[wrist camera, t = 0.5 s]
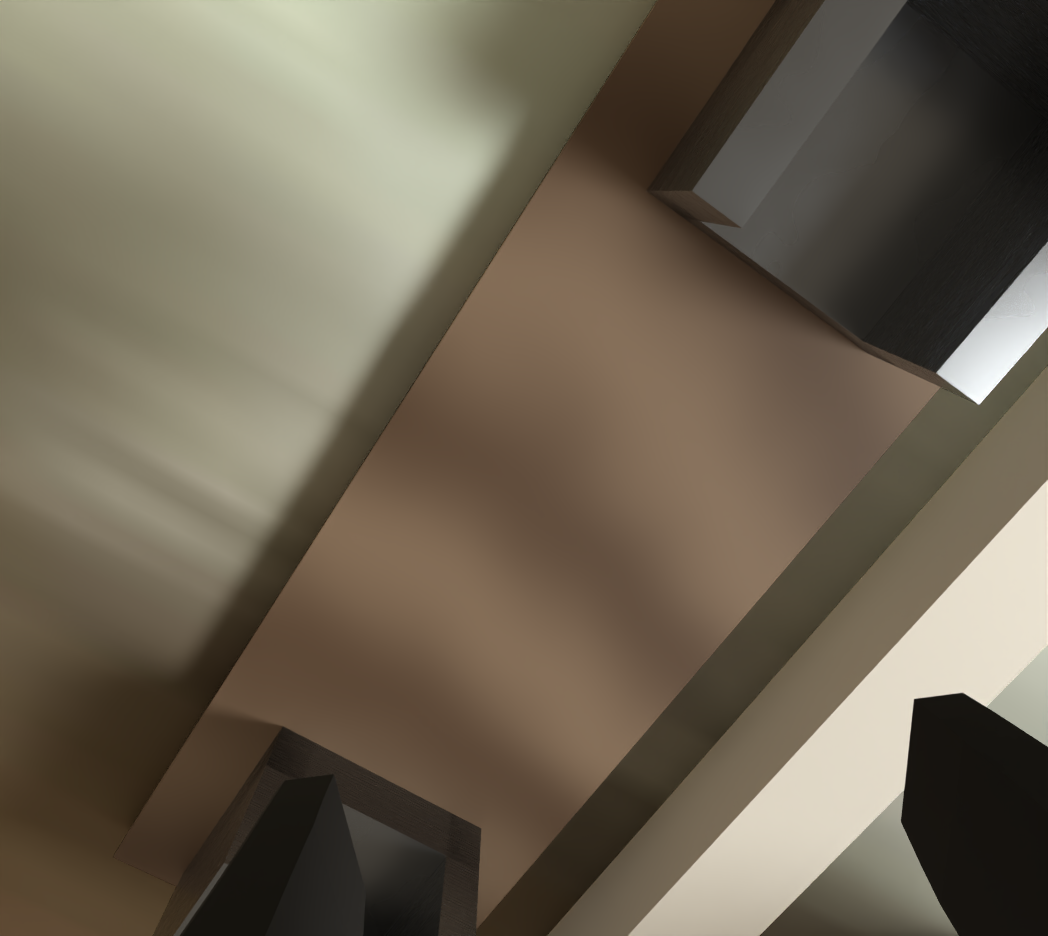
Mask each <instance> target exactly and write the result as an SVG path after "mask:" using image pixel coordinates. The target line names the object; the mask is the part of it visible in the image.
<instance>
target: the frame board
mask: <svg viewBox="0 0 1048 936" xmlns="http://www.w3.org/2000/svg"><path fill="white" fill-rule="evenodd" d="M775 1H776V0H657V1H656V3H655V4H654V6H653V8H652V9H651V11H650V12H649V14H648V15H647V17H646V19H645V20H644V22H643V23H642V25H641V26H640V28H639V30H638V31H637V33H636V34H635V36H634V37H633V39H632V41H631V42H630V44H629V45H628V47H627V48H626V50H625V52H624V53H623V55H622V56H621V58H620V59H619V61H618V63H617V64H616V66H615V67H614V69H613V70H612V72H611V74H610V75H609V77H608V78H607V80H606V81H605V83H604V85H603V86H602V88H601V89H600V91H599V92H598V94H597V96H596V97H595V99H594V100H593V102H592V103H591V105H590V107H589V108H588V110H587V111H586V113H585V114H584V116H583V118H582V119H581V121H580V122H579V124H578V125H577V127H576V129H575V130H574V132H573V133H572V135H571V136H570V138H569V140H568V141H567V143H566V144H565V146H564V147H563V149H562V151H561V152H560V154H559V155H558V157H557V158H556V160H555V162H554V163H553V165H552V166H551V168H550V169H549V171H548V173H547V174H546V176H545V177H544V179H543V180H542V182H541V184H540V185H539V187H538V188H537V190H536V191H535V193H534V195H533V196H532V198H531V199H530V201H529V202H528V204H527V205H526V207H525V209H524V210H523V212H522V213H521V215H520V216H519V218H518V220H517V221H516V223H515V224H514V226H513V227H512V229H511V231H510V232H509V234H508V235H507V237H506V238H505V240H504V242H503V243H502V245H501V246H500V248H499V249H498V251H497V253H496V254H495V256H494V257H493V259H492V260H491V262H490V264H489V265H488V267H487V268H486V270H485V271H484V273H483V275H482V276H481V278H480V279H479V281H478V282H477V284H476V286H475V287H474V289H473V290H472V292H471V293H470V295H469V297H468V298H467V300H466V301H465V303H464V304H463V306H462V308H461V309H460V311H459V312H458V314H457V315H456V317H455V319H454V320H453V322H452V323H451V325H450V326H449V328H448V330H447V331H446V333H445V334H444V336H443V337H442V339H441V341H440V342H439V344H438V345H437V347H436V348H435V350H434V352H433V353H432V355H431V356H430V358H429V359H428V361H427V363H426V364H425V366H424V367H423V369H422V370H421V372H420V374H419V375H418V377H417V378H416V380H415V381H414V383H413V385H412V386H411V388H410V389H409V391H408V392H407V394H406V396H405V397H404V399H403V400H402V402H401V403H400V405H399V407H398V408H397V410H396V411H395V413H394V414H393V416H392V418H391V419H390V421H389V422H388V424H387V425H386V427H385V429H384V430H383V432H382V433H381V435H380V436H379V438H378V440H377V441H376V443H375V444H374V446H373V447H372V449H371V451H370V452H369V454H368V455H367V457H366V458H365V460H364V462H363V463H362V465H361V466H360V468H359V469H358V471H357V473H356V474H355V476H354V477H353V479H352V480H351V482H350V484H349V485H348V487H347V488H346V490H345V491H344V493H343V495H342V496H341V498H340V499H339V501H338V502H337V504H336V506H335V507H334V509H333V510H332V512H331V513H330V515H329V517H328V518H327V520H326V521H325V523H324V524H323V526H322V528H321V529H320V531H319V532H318V534H317V535H316V537H315V539H314V540H313V542H312V543H311V545H310V546H309V548H308V550H307V551H306V553H305V554H304V556H303V557H302V559H301V561H300V562H299V564H298V565H297V567H296V568H295V570H294V572H293V573H292V575H291V576H290V578H289V579H288V581H287V583H286V584H285V586H284V587H283V589H282V590H281V592H280V594H279V595H278V597H277V598H276V600H275V601H274V603H273V605H272V606H271V608H270V609H269V611H268V612H267V614H266V616H265V617H264V619H263V620H262V622H261V623H260V625H259V627H258V628H257V630H256V631H255V633H254V634H253V636H252V638H251V639H250V641H249V642H248V644H247V645H246V647H245V649H244V650H243V652H242V653H241V655H240V656H239V658H238V660H237V661H236V663H235V664H234V666H233V667H232V669H231V671H230V672H229V674H228V675H227V677H226V678H225V680H224V682H223V683H222V685H221V686H220V688H219V689H218V691H217V693H216V694H215V696H214V697H213V699H212V700H211V702H210V704H209V705H208V707H207V708H206V710H205V711H204V713H203V715H202V716H201V718H200V719H199V721H198V722H197V724H196V726H195V727H194V729H193V730H192V732H191V733H190V735H189V737H188V738H187V740H186V741H185V743H184V744H183V746H182V748H181V749H180V751H179V752H178V754H177V755H176V757H175V759H174V760H173V762H172V763H171V765H170V766H169V768H168V770H167V771H166V773H165V774H164V776H163V777H162V779H161V781H160V782H159V784H158V785H157V787H156V788H155V790H154V792H153V793H152V795H151V796H150V798H149V799H148V801H147V803H146V804H145V806H144V807H143V809H142V810H141V812H140V814H139V815H138V817H137V818H136V820H135V821H134V823H133V825H132V826H131V828H130V829H129V831H128V833H127V834H126V836H125V838H124V839H123V841H122V842H121V844H120V846H119V847H118V849H117V851H116V852H115V854H114V856H113V858H115V859H118V860H120V861H122V862H124V863H126V864H129V865H131V866H133V867H135V868H137V869H139V870H142V871H144V872H146V873H148V874H150V875H152V876H155V877H157V878H159V879H161V880H163V881H166V882H168V883H170V884H172V885H174V886H176V887H177V885H178V882H179V880H180V878H181V876H182V874H183V873H184V871H185V870H186V868H187V867H188V865H189V864H190V862H191V861H192V859H193V858H194V857H195V855H196V854H197V852H198V851H199V849H200V848H201V846H202V845H203V843H204V842H205V840H206V839H207V837H208V836H209V834H210V833H211V832H212V830H213V829H214V827H215V826H216V824H217V823H218V821H219V820H220V818H221V817H222V815H223V814H224V812H225V811H226V809H227V808H228V806H229V805H230V804H231V802H232V801H233V799H234V798H235V796H236V795H237V793H238V792H239V790H240V789H241V787H242V786H243V784H244V783H245V781H246V780H247V778H248V777H249V776H250V774H251V773H252V771H253V770H254V768H255V767H256V765H257V764H258V762H259V761H260V759H261V758H262V756H263V755H264V753H265V752H266V750H267V749H268V748H269V746H270V745H271V743H272V742H273V740H274V739H275V737H276V736H277V734H278V733H279V731H280V730H281V728H282V727H283V726H284V727H286V728H288V729H290V730H291V731H293V732H295V733H297V734H299V735H301V736H303V737H305V738H307V739H309V740H311V741H313V742H315V743H317V744H319V745H321V746H322V747H324V748H326V749H328V750H330V751H332V752H334V753H336V754H338V755H340V756H342V757H344V758H346V759H348V760H350V761H352V762H353V763H355V764H357V765H359V766H361V767H363V768H365V769H367V770H369V771H371V772H373V773H375V774H377V775H379V776H381V777H383V778H384V779H386V780H388V781H390V782H392V783H394V784H396V785H398V786H400V787H402V788H404V789H406V790H408V791H410V792H412V793H414V794H415V795H417V796H419V797H421V798H423V799H425V800H427V801H429V802H431V803H433V804H435V805H437V806H439V807H441V808H443V809H445V810H446V811H448V812H450V813H452V814H454V815H456V816H458V817H460V818H462V819H464V820H466V821H468V822H470V823H472V824H474V825H476V826H477V827H479V828H481V845H480V864H479V884H478V903H477V923H476V929H477V928H478V927H479V926H480V925H481V924H482V922H483V921H484V920H485V919H486V918H487V917H488V915H489V914H490V913H491V912H492V911H493V910H494V908H495V907H496V906H497V905H498V904H499V903H500V901H501V900H502V899H503V898H504V897H505V896H506V894H507V893H508V892H509V891H510V890H511V888H512V887H513V886H514V885H515V884H516V883H517V881H518V880H519V879H520V878H521V877H522V876H523V874H524V873H525V872H526V871H527V870H528V869H529V867H530V866H531V865H532V864H533V863H534V862H535V860H536V859H537V858H538V857H539V856H540V855H541V853H542V852H543V851H544V850H545V849H546V848H547V846H548V845H549V844H550V843H551V842H552V841H553V839H554V838H555V837H556V836H557V835H558V834H559V832H560V831H561V830H562V829H563V828H564V827H565V825H566V824H567V823H568V822H569V821H570V820H571V818H572V817H573V816H574V815H575V814H576V813H577V811H578V810H579V809H580V808H581V807H582V806H583V804H584V803H585V802H586V801H587V800H588V799H589V797H590V796H591V795H592V794H593V793H594V792H595V790H596V789H597V788H598V787H599V786H600V785H601V783H602V782H603V781H604V780H605V779H606V778H607V776H608V775H609V774H610V773H611V772H612V771H613V769H614V768H615V767H616V766H617V765H618V764H619V762H620V761H621V760H622V759H623V758H624V757H625V755H626V754H627V753H628V752H629V751H630V750H631V748H632V747H633V746H634V745H635V744H636V743H637V741H638V740H639V739H640V738H641V737H642V736H643V734H644V733H645V732H646V731H647V730H648V728H649V727H650V726H651V725H652V724H653V723H654V721H655V720H656V719H657V718H658V717H659V716H660V714H661V713H662V712H663V711H664V710H665V709H666V707H667V706H668V705H669V704H670V703H671V702H672V700H673V699H674V698H675V697H676V696H677V695H678V693H679V692H680V691H681V690H682V689H683V688H684V686H685V685H686V684H687V683H688V682H689V681H690V679H691V678H692V677H693V676H694V675H695V674H696V672H697V671H698V670H699V669H700V668H701V667H702V665H703V664H704V663H705V662H706V661H707V660H708V658H709V657H710V656H711V655H712V654H713V653H714V651H715V650H716V649H717V648H718V647H719V646H720V644H721V643H722V642H723V641H724V640H725V639H726V637H727V636H728V635H729V634H730V633H731V632H732V630H733V629H734V628H735V627H736V626H737V625H738V623H739V622H740V621H741V620H742V619H743V618H744V616H745V615H746V614H747V613H748V612H749V611H750V609H751V608H752V607H753V606H754V605H755V604H756V602H757V601H758V600H759V599H760V598H761V597H762V595H763V594H764V593H765V592H766V591H767V590H768V588H769V587H770V586H771V585H772V584H773V583H774V581H775V580H776V579H777V578H778V577H779V575H780V574H781V573H782V572H783V571H784V570H785V568H786V567H787V566H788V565H789V564H790V563H791V561H792V560H793V559H794V558H795V557H796V556H797V554H798V553H799V552H800V551H801V550H802V549H803V547H804V546H805V545H806V544H807V543H808V542H809V540H810V539H811V538H812V537H813V536H814V535H815V533H816V532H817V531H818V530H819V529H820V528H821V526H822V525H823V524H824V523H825V522H826V521H827V519H828V518H829V517H830V516H831V515H832V514H833V512H834V511H835V510H836V509H837V508H838V507H839V505H840V504H841V503H842V502H843V501H844V500H845V498H846V497H847V496H848V495H849V494H850V493H851V491H852V490H853V489H854V488H855V487H856V486H857V484H858V483H859V482H860V481H861V480H862V479H863V477H864V476H865V475H866V474H867V473H868V472H869V470H870V469H871V468H872V467H873V466H874V465H875V463H876V462H877V461H878V460H879V459H880V458H881V456H882V455H883V454H884V453H885V452H886V451H887V449H888V448H889V447H890V446H891V445H892V444H893V442H894V441H895V440H896V439H897V438H898V437H899V435H900V434H901V433H902V432H903V431H904V430H905V428H906V427H907V426H908V425H909V424H910V422H911V421H912V420H913V419H914V418H915V417H916V415H917V414H918V413H919V412H920V411H921V410H922V408H923V407H924V406H925V405H926V404H927V403H928V401H929V400H930V399H931V398H932V397H933V396H934V394H935V393H936V392H937V391H938V390H939V389H940V387H939V386H937V385H935V384H933V383H930V382H928V381H926V380H924V379H922V378H920V377H917V376H915V375H913V374H911V373H909V372H907V371H904V370H902V369H900V368H898V367H896V366H894V365H891V364H889V363H887V362H885V361H883V360H881V359H878V358H876V357H874V356H872V355H870V354H868V353H866V352H865V351H864V350H862V349H861V348H860V347H858V346H857V345H856V344H854V343H853V342H852V341H850V340H849V339H847V338H846V337H845V336H843V335H842V334H841V333H839V332H838V331H837V330H835V329H834V328H832V327H831V326H830V325H828V324H827V323H826V322H824V321H823V320H822V319H820V318H819V317H818V316H816V315H815V314H813V313H812V312H811V311H809V310H808V309H807V308H805V307H804V306H803V305H801V304H800V303H798V302H797V301H796V300H794V299H793V298H792V297H790V296H789V295H788V294H786V293H785V292H784V291H782V290H781V289H779V288H778V287H777V286H775V285H774V284H773V283H771V282H770V281H769V280H767V279H766V278H764V277H763V276H762V275H760V274H759V273H758V272H756V271H755V270H754V269H752V268H751V267H750V266H748V265H747V264H745V263H744V262H743V261H741V260H740V259H739V258H737V257H736V256H735V255H733V254H732V253H730V252H729V251H728V250H726V249H725V248H724V247H722V246H721V245H720V244H718V243H717V242H716V241H714V240H713V239H711V238H710V237H709V236H707V235H706V234H705V233H703V232H702V231H701V230H699V229H698V228H696V227H695V226H694V225H692V224H691V223H690V222H688V221H687V220H686V219H684V218H683V217H682V216H680V215H679V214H677V213H676V212H675V211H673V210H672V209H671V208H669V207H668V206H667V205H665V204H664V203H662V202H661V201H660V200H658V199H657V198H656V197H654V196H653V195H652V194H650V193H649V192H648V191H647V189H648V188H649V186H650V185H651V183H652V182H653V180H654V179H655V178H656V176H657V175H658V173H659V172H660V170H661V169H662V167H663V166H664V164H665V163H666V161H667V160H668V158H669V157H670V155H671V154H672V152H673V151H674V150H675V148H676V147H677V145H678V144H679V142H680V141H681V139H682V138H683V136H684V135H685V133H686V132H687V130H688V129H689V127H690V126H691V124H692V123H693V122H694V120H695V119H696V117H697V116H698V114H699V113H700V111H701V110H702V108H703V107H704V105H705V104H706V102H707V101H708V99H709V98H710V96H711V95H712V94H713V92H714V91H715V89H716V88H717V86H718V85H719V83H720V82H721V80H722V79H723V77H724V76H725V74H726V73H727V71H728V70H729V69H730V67H731V66H732V64H733V63H734V61H735V60H736V58H737V57H738V55H739V54H740V52H741V51H742V49H743V48H744V46H745V45H746V43H747V42H748V41H749V39H750V38H751V36H752V35H753V33H754V32H755V30H756V29H757V27H758V26H759V24H760V23H761V21H762V20H763V18H764V17H765V15H766V14H767V13H768V11H769V10H770V8H771V7H772V5H773V4H774V2H775Z"/></svg>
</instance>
